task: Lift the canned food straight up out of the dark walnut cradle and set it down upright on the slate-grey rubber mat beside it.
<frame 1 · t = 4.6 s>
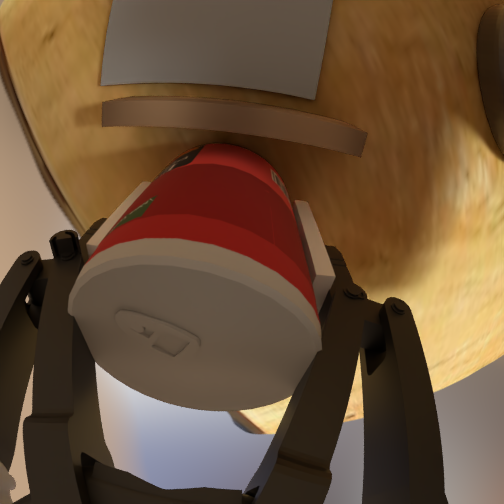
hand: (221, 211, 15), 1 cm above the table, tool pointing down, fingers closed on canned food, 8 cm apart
canned food: (223, 201, 17), on the table, touching gripper
cradle: (223, 203, 16), on the table
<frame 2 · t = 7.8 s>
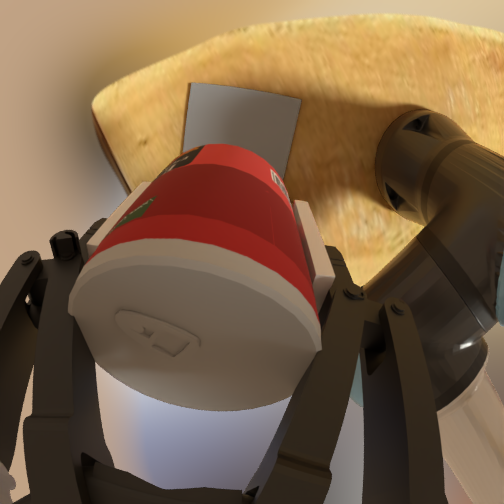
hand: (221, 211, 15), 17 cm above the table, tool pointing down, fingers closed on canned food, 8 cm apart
canned food: (223, 201, 17), point 16 cm above the table, touching gripper
mat: (237, 139, 29), on the table
when the fingers open (3 cm above the table, at t = 11.4 s): canned food drops 1 cm, resting on mat.
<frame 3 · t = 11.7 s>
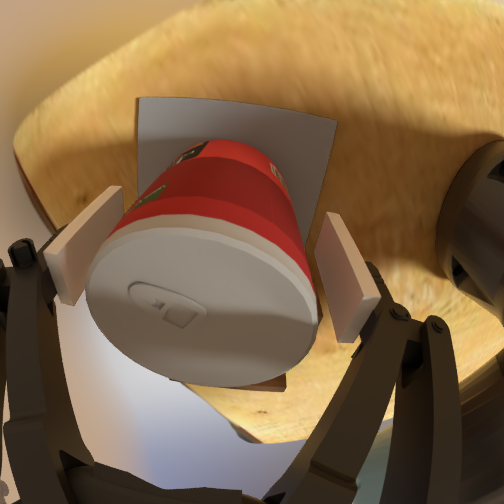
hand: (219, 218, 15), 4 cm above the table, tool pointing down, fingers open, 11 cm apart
canned food: (226, 194, 18), resting on mat
mat: (225, 192, 18), on the table
cradle: (234, 326, 25), on the table
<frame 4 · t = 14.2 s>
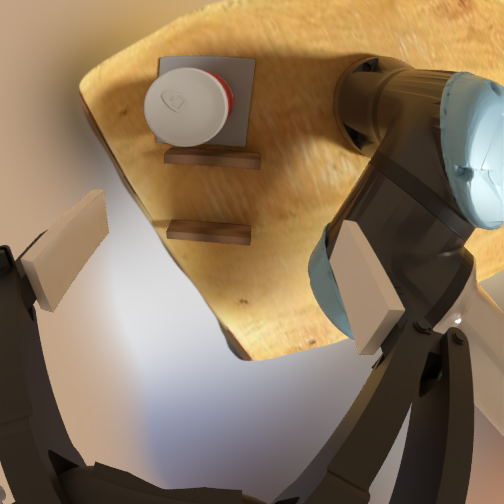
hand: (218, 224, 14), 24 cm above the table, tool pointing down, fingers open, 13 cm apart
canned food: (203, 99, 30), resting on mat
mat: (203, 99, 31), on the table
cradle: (212, 191, 38), on the table
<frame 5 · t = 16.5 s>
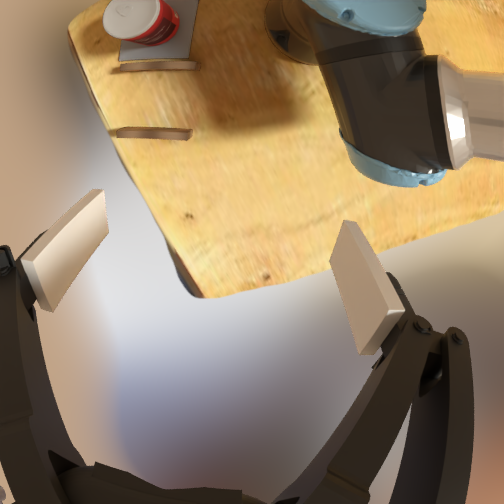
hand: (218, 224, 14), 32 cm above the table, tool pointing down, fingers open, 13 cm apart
canned food: (157, 26, 29), resting on mat
mat: (157, 26, 30), on the table
cradle: (159, 98, 37), on the table
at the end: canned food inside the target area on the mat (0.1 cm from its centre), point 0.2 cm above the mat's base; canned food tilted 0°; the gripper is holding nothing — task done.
